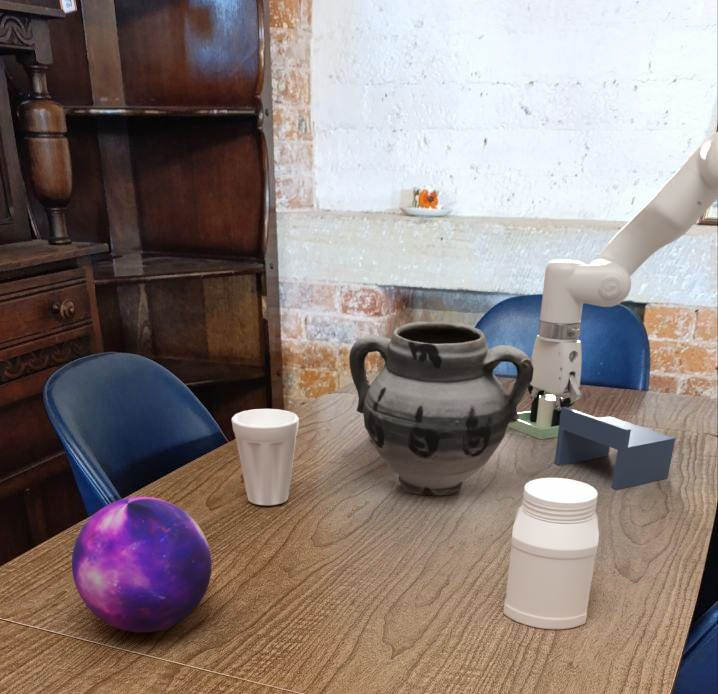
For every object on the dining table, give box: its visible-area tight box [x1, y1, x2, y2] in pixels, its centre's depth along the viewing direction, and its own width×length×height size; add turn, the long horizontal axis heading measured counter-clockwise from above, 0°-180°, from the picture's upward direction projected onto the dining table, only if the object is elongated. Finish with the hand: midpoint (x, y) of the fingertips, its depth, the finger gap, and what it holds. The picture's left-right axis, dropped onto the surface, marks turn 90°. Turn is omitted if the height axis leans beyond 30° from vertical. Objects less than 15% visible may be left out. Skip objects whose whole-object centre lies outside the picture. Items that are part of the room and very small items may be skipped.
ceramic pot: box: [349, 321, 534, 496], centre depth 137 cm, size 29×23×25 cm
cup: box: [231, 408, 300, 506], centre depth 133 cm, size 10×10×13 cm
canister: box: [536, 394, 563, 428], centre depth 172 cm, size 4×4×6 cm
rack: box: [553, 407, 676, 491], centre depth 149 cm, size 12×15×10 cm
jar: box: [502, 477, 600, 630], centre depth 103 cm, size 12×10×15 cm
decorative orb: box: [71, 496, 212, 633], centre depth 97 cm, size 15×15×15 cm
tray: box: [507, 410, 559, 440], centre depth 173 cm, size 13×11×2 cm
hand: (547, 424), depth 173 cm, fingers open, 5 cm apart
